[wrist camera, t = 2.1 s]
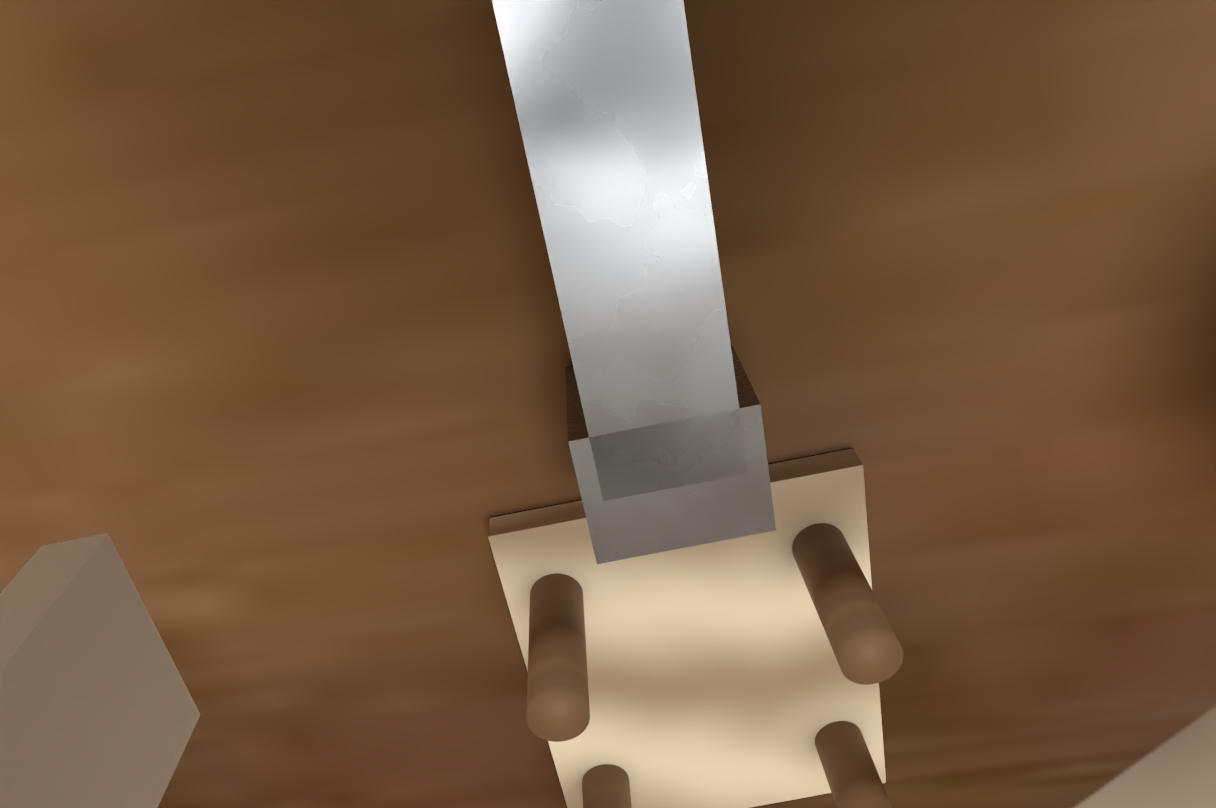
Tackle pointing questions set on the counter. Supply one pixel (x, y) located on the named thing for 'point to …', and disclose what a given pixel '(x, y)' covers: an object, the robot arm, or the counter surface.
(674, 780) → the rack
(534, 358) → the counter surface
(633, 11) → the grey metal bar
